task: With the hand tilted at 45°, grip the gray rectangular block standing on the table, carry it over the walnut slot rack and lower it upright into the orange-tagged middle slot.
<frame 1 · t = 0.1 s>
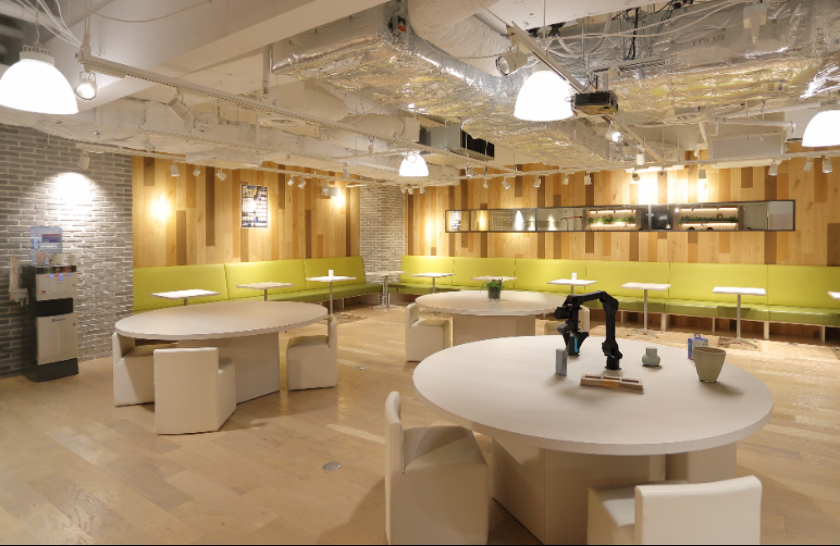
hand: (572, 347, 261), 15 cm above the table, tool pointing down, fingers open, 9 cm apart
gray rectangular block: (561, 373, 263), on the table
slot rack: (611, 386, 242), on the table
air freshener: (650, 365, 280), on the table
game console: (572, 351, 312), on the table
plant pot: (707, 380, 250), on the table
ink cartridge box: (697, 359, 292), on the table
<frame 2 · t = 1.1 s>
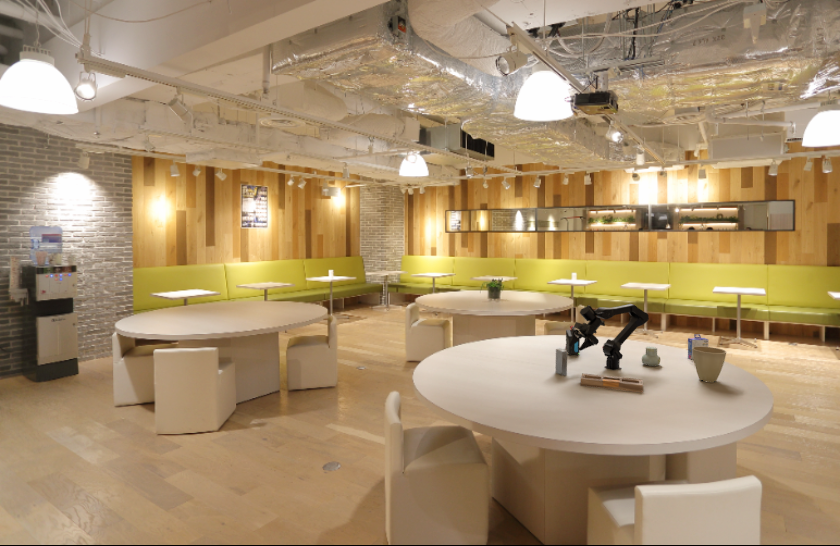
hand: (574, 348, 264), 13 cm above the table, tool tilted 45°, fingers open, 9 cm apart
nothing on the table moved.
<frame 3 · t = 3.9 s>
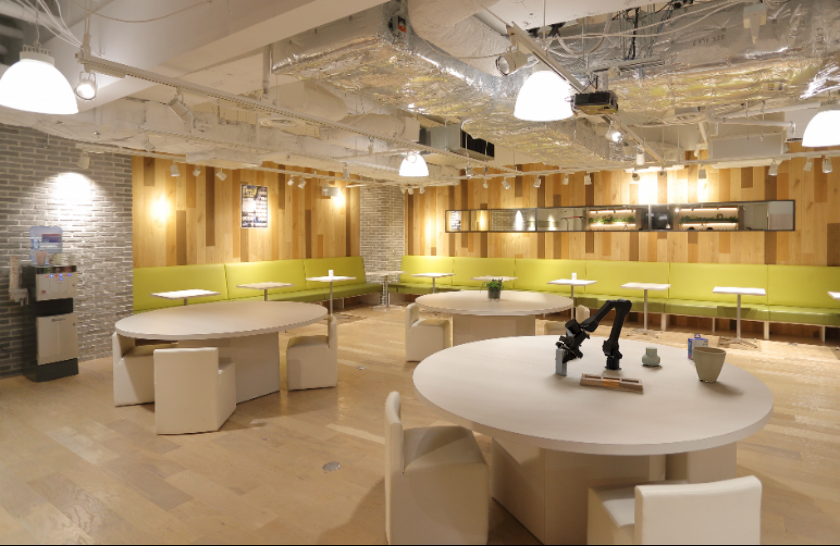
hand: (559, 361, 262), 7 cm above the table, tool tilted 45°, fingers closed on gray rectangular block, 6 cm apart
gray rectangular block: (561, 373, 263), on the table, touching gripper
everything else where it was.
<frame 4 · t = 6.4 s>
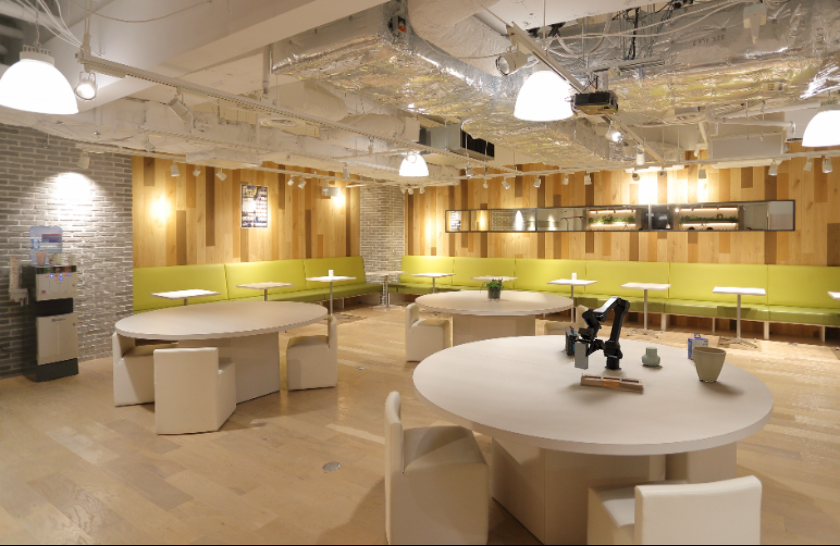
hand: (580, 355, 249), 13 cm above the table, tool tilted 45°, fingers closed on gray rectangular block, 6 cm apart
gray rectangular block: (581, 368, 250), point 7 cm above the table, touching gripper
everything else where it was.
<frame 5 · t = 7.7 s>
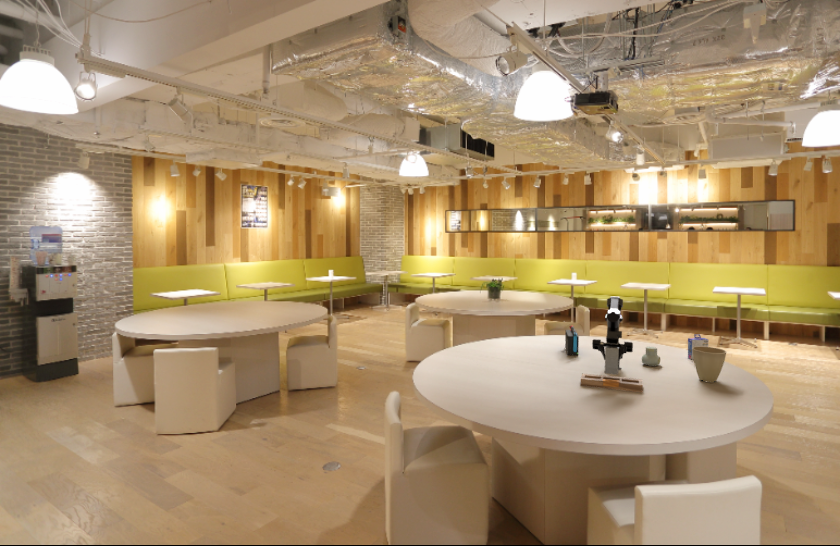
hand: (611, 360, 240), 13 cm above the table, tool tilted 45°, fingers closed on gray rectangular block, 6 cm apart
gray rectangular block: (611, 373, 242), point 6 cm above the table, touching gripper
everything else where it was.
when the fingers open (9 cm above the table, at t = 9.0 s): gray rectangular block drops 1 cm, resting on slot rack.
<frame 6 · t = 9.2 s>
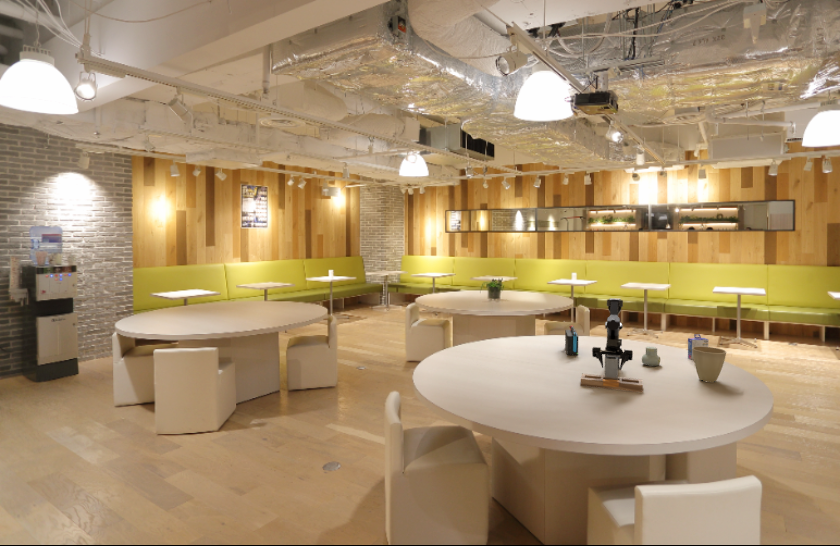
hand: (611, 368, 240), 9 cm above the table, tool tilted 45°, fingers open, 8 cm apart
gray rectangular block: (611, 383, 242), point 1 cm above the table, touching slot rack
everything else where it was.
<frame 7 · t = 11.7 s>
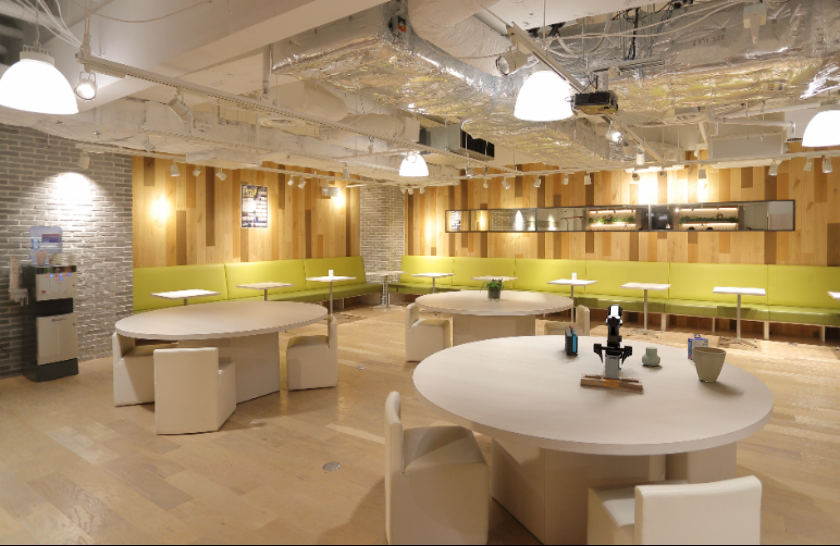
hand: (612, 363, 249), 9 cm above the table, tool tilted 45°, fingers open, 9 cm apart
nothing on the table moved.
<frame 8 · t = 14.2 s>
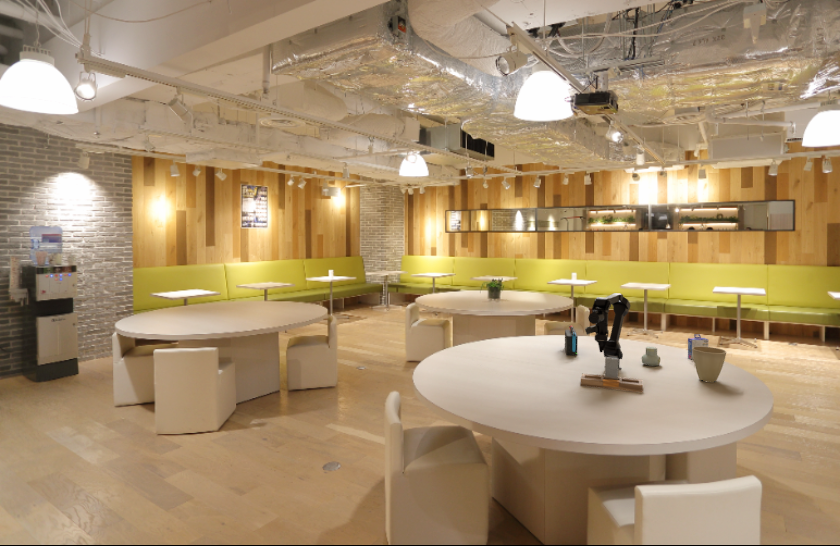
hand: (601, 350, 261), 13 cm above the table, tool pointing down, fingers open, 9 cm apart
at the end: gray rectangular block 0.0 cm off-centre on the slot rack, point 1.0 cm above the slot rack's base; gray rectangular block tilted 0°; the gripper is holding nothing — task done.
